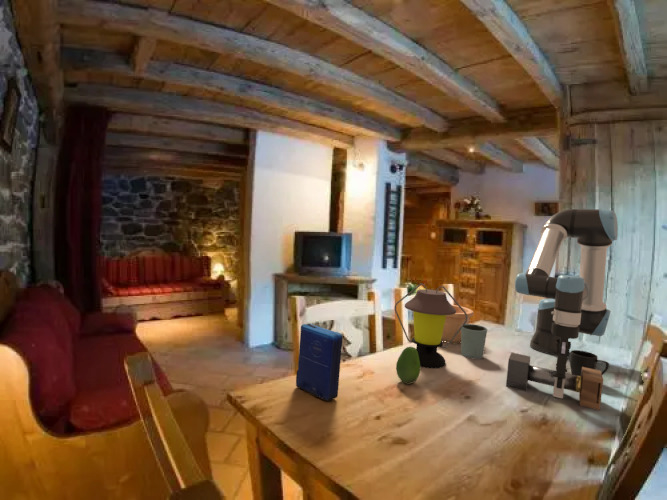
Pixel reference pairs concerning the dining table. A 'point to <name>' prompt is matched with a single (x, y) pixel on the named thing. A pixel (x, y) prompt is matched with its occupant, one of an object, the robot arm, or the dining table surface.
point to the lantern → (429, 324)
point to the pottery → (455, 324)
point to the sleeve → (518, 371)
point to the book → (319, 361)
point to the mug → (584, 362)
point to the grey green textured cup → (473, 340)
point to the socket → (591, 388)
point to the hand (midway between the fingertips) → (557, 393)
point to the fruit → (408, 365)
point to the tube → (547, 378)
